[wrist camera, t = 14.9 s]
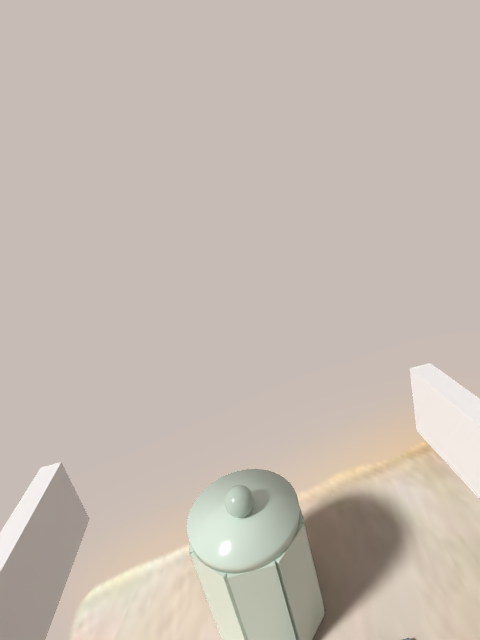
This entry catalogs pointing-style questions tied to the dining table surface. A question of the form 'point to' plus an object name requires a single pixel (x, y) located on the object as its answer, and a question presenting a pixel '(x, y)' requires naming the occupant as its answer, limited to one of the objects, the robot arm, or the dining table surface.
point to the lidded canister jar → (255, 558)
